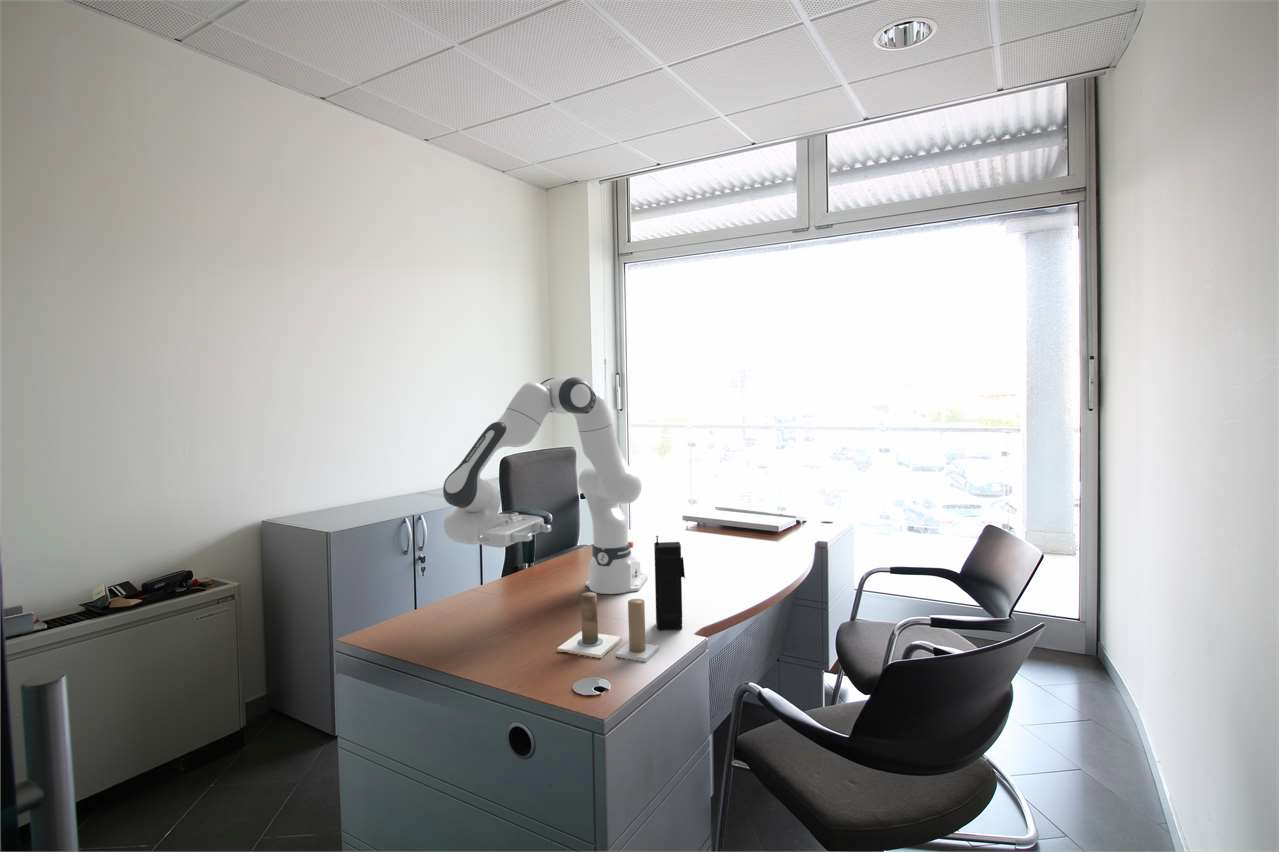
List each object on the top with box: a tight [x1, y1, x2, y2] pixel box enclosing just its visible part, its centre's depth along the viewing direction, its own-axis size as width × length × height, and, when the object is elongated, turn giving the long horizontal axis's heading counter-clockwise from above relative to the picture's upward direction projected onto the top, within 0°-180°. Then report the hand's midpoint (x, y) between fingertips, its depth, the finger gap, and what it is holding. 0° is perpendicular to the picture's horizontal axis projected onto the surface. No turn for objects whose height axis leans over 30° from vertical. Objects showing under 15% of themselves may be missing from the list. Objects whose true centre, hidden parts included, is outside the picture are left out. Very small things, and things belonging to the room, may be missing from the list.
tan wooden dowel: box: [615, 598, 660, 663], centre depth 166 cm, size 8×8×13 cm
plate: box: [556, 630, 623, 658], centre depth 171 cm, size 12×12×1 cm
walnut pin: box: [580, 591, 599, 645], centre depth 171 cm, size 4×4×12 cm
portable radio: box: [653, 535, 686, 631], centre depth 183 cm, size 8×6×25 cm
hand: (540, 533), depth 180 cm, fingers open, 8 cm apart
